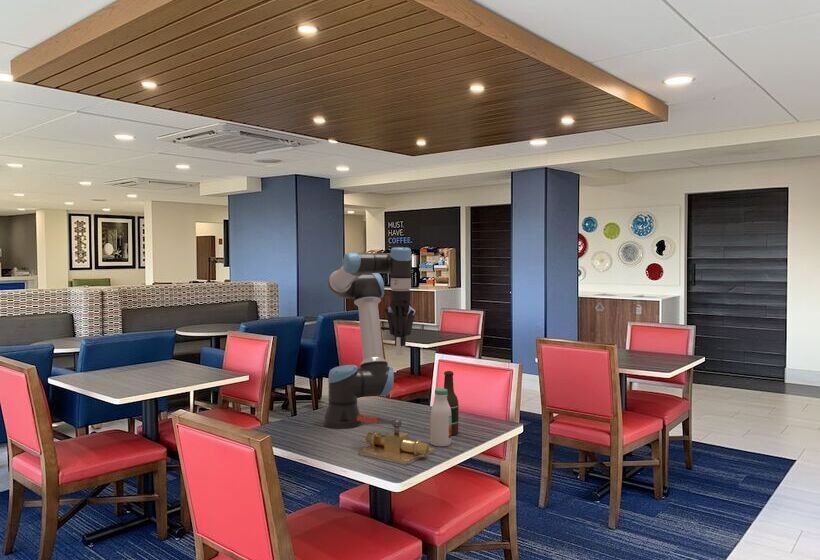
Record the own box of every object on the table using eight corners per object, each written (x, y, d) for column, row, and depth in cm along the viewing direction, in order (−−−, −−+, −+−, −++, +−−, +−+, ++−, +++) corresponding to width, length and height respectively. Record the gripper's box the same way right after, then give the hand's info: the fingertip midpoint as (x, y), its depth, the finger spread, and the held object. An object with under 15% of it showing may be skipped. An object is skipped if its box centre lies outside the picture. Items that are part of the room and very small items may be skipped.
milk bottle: (444, 448, 223) (445, 392, 222) (426, 444, 227) (426, 389, 226) (455, 443, 229) (455, 388, 229) (436, 439, 233) (437, 386, 233)
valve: (353, 453, 216) (353, 425, 216) (383, 441, 231) (384, 415, 231) (411, 466, 203) (411, 437, 202) (439, 452, 218) (440, 425, 217)
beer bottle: (456, 436, 238) (457, 373, 237) (436, 435, 239) (437, 372, 239) (459, 431, 245) (460, 370, 245) (439, 429, 247) (440, 369, 246)
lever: (402, 424, 217) (402, 419, 217) (399, 426, 214) (399, 421, 214) (360, 419, 224) (360, 414, 224) (356, 421, 221) (356, 416, 221)
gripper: (380, 289, 228) (379, 354, 229) (409, 291, 220) (408, 357, 221) (392, 289, 234) (391, 352, 235) (421, 290, 227) (420, 355, 227)
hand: (400, 354), depth 228 cm, fingers closed
